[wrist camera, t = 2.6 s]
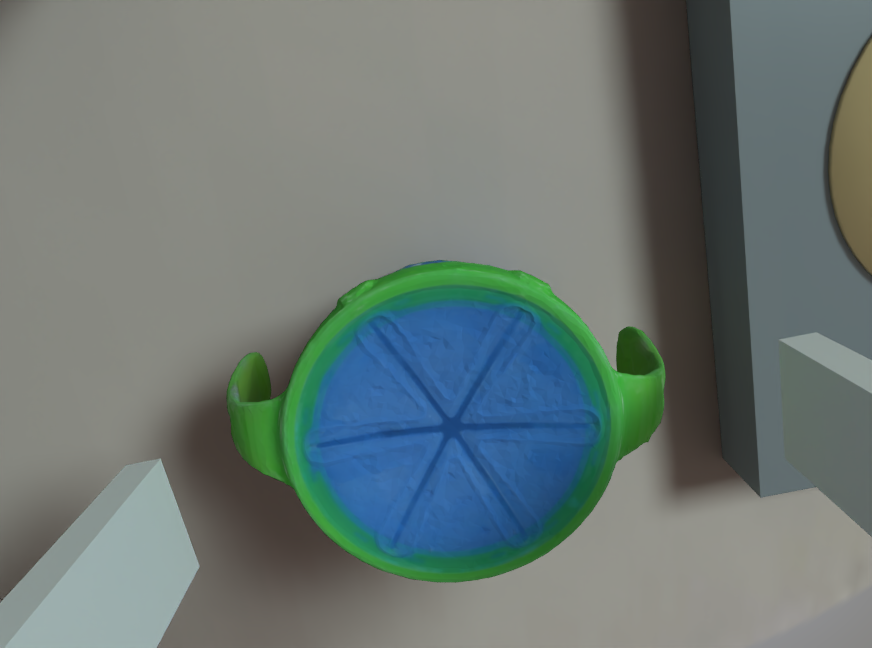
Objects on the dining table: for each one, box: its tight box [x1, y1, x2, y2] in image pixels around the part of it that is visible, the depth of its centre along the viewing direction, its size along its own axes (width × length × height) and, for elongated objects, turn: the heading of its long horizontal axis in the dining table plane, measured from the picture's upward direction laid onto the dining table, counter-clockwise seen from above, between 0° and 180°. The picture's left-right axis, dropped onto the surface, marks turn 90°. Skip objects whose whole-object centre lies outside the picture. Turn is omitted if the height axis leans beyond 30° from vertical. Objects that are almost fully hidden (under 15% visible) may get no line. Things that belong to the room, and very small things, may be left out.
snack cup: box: [226, 260, 666, 582], centre depth 18 cm, size 11×8×7 cm
